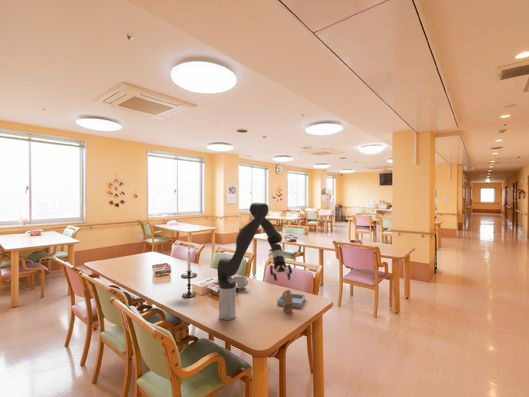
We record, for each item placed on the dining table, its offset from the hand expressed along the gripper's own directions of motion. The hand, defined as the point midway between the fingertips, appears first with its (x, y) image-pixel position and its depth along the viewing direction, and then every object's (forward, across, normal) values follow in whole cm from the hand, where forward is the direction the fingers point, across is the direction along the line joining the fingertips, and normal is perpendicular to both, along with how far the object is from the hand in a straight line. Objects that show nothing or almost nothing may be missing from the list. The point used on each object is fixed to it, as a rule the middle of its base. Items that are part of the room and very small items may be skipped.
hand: (282, 280), depth 170 cm
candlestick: (-7, -60, +29) cm, 67 cm away
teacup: (-13, -24, +34) cm, 44 cm away
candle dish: (+10, +6, +12) cm, 17 cm away
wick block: (+19, 0, +3) cm, 19 cm away
